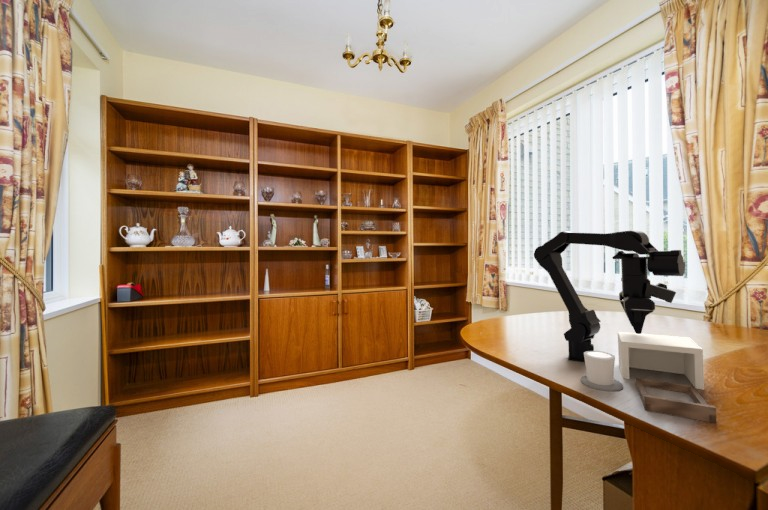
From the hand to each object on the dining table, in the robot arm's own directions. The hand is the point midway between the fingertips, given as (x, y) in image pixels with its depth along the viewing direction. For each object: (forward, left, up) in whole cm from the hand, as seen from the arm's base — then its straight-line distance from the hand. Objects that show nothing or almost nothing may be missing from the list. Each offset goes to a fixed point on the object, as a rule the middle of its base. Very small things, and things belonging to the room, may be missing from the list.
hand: (636, 329), depth 90 cm
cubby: (+4, -1, -12) cm, 13 cm away
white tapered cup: (-9, -14, -12) cm, 20 cm away
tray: (+4, -17, -12) cm, 21 cm away
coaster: (-9, -14, -12) cm, 21 cm away
